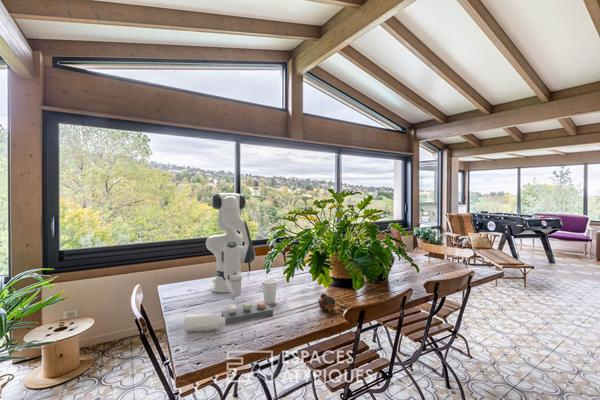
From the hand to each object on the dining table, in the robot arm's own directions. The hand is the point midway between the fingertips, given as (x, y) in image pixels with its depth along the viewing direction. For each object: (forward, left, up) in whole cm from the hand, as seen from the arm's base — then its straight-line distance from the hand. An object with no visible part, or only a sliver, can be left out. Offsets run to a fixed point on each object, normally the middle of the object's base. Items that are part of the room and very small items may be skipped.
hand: (232, 298), depth 152 cm
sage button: (0, +8, -9) cm, 12 cm away
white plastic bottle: (+5, -16, -11) cm, 20 cm away
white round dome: (0, 0, -9) cm, 9 cm away
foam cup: (-14, +26, -11) cm, 31 cm away
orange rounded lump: (0, +16, -10) cm, 19 cm away
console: (0, +8, -11) cm, 13 cm away
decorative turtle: (+13, +51, -11) cm, 54 cm away
